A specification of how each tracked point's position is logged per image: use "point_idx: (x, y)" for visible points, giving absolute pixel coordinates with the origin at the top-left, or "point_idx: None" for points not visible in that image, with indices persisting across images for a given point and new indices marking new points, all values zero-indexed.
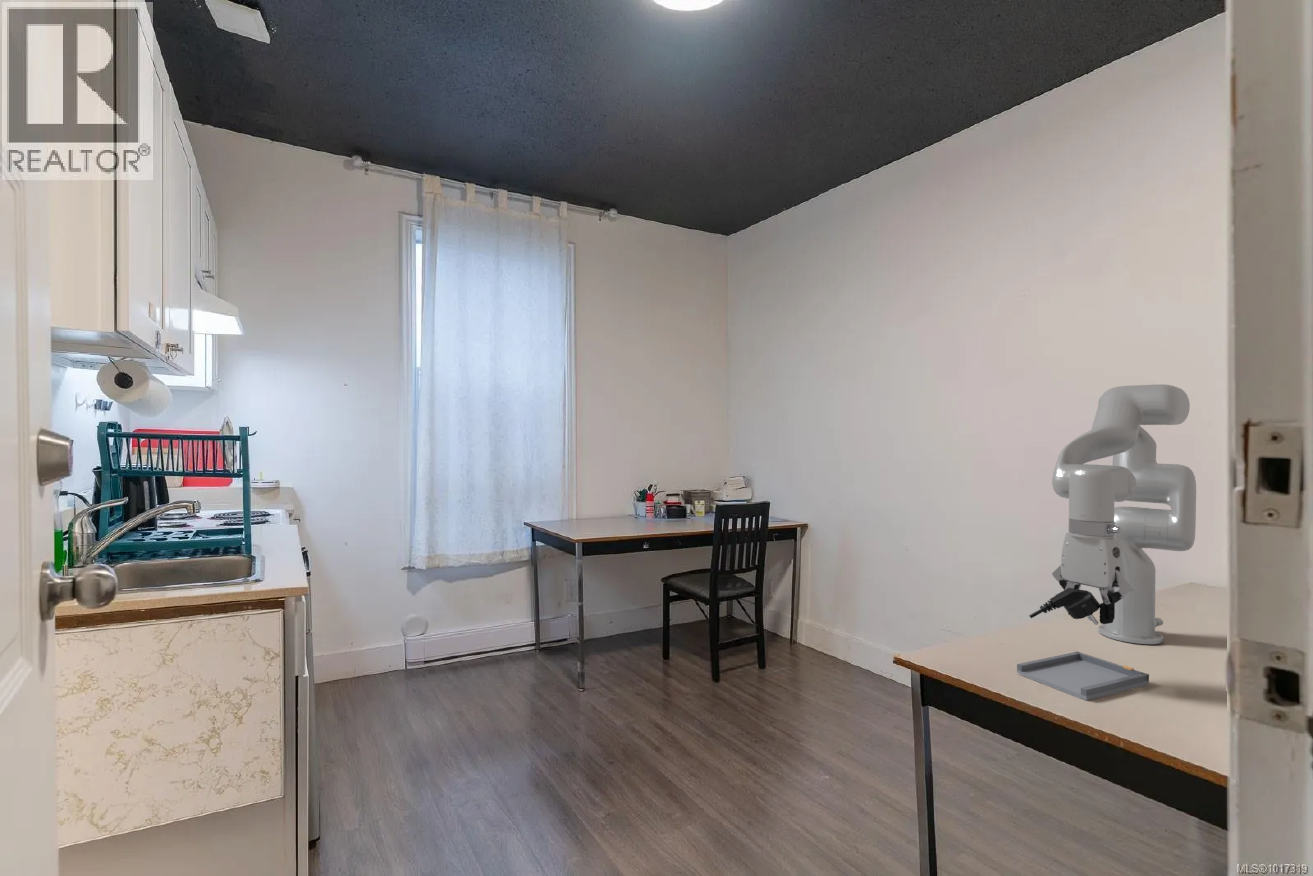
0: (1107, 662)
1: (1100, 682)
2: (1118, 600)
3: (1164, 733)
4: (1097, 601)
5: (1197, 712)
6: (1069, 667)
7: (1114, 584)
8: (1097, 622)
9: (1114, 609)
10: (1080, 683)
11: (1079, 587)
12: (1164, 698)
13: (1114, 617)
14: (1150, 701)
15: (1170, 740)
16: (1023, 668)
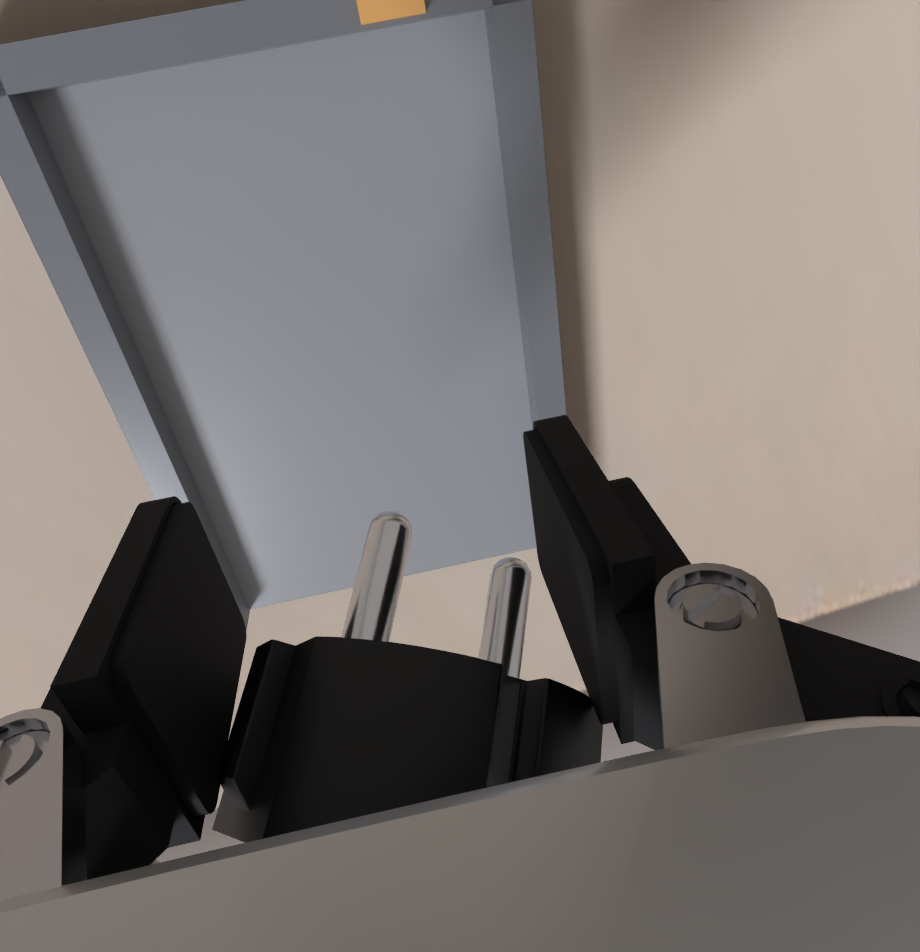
0: (240, 44)
1: (457, 340)
2: (815, 642)
3: (865, 477)
4: (563, 746)
5: (864, 116)
6: (207, 322)
7: (792, 769)
8: (530, 583)
9: (673, 542)
10: (443, 455)
11: (76, 841)
12: (687, 106)
13: (633, 482)
14: (678, 238)
15: (898, 503)
16: (243, 608)
